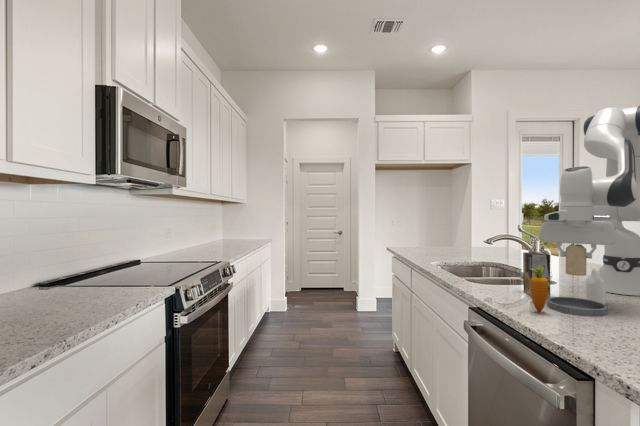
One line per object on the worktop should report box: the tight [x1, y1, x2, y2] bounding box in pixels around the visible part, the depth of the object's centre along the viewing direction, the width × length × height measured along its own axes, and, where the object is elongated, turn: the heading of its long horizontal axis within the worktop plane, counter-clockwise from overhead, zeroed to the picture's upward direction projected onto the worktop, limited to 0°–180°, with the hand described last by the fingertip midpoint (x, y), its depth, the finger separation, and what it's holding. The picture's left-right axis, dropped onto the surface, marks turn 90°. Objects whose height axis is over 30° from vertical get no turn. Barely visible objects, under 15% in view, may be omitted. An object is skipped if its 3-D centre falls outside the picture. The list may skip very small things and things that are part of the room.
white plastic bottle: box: [585, 268, 607, 305], centre depth 121 cm, size 6×12×6 cm
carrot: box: [530, 265, 548, 313], centre depth 110 cm, size 5×5×15 cm
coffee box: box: [522, 251, 551, 299], centre depth 133 cm, size 9×6×16 cm
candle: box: [565, 243, 587, 277], centre depth 113 cm, size 6×6×10 cm
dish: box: [546, 296, 609, 318], centre depth 114 cm, size 16×16×2 cm
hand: (575, 257), depth 114 cm, fingers closed on candle, 5 cm apart
